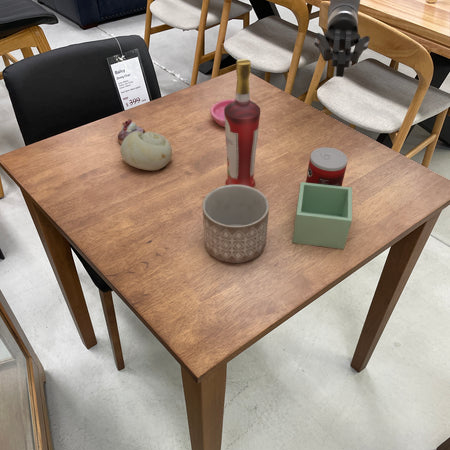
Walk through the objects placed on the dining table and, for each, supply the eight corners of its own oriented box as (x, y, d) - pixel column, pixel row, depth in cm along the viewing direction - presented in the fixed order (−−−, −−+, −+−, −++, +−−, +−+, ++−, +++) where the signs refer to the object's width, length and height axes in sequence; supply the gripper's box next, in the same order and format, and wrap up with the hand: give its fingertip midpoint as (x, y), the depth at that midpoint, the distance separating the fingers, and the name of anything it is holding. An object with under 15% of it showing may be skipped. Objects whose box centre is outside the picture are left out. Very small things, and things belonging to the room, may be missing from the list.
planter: (203, 225, 94) (201, 185, 86) (261, 222, 95) (264, 182, 87) (206, 268, 86) (203, 228, 78) (269, 264, 87) (273, 225, 79)
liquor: (221, 180, 104) (219, 56, 83) (250, 175, 106) (256, 52, 84) (229, 199, 100) (229, 73, 78) (259, 194, 101) (268, 68, 79)
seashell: (169, 123, 107) (165, 141, 100) (175, 154, 112) (172, 173, 105) (118, 129, 108) (111, 146, 100) (126, 159, 113) (120, 178, 106)
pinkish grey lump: (127, 129, 119) (124, 112, 115) (152, 135, 117) (149, 117, 114) (112, 144, 114) (108, 127, 111) (137, 150, 113) (134, 132, 109)
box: (343, 249, 90) (351, 220, 84) (292, 242, 91) (296, 214, 85) (344, 216, 96) (352, 187, 90) (296, 210, 97) (300, 181, 92)
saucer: (243, 105, 127) (243, 95, 125) (262, 126, 120) (263, 115, 117) (203, 114, 124) (203, 104, 122) (221, 136, 117) (221, 125, 114)
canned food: (316, 184, 103) (324, 142, 95) (344, 199, 100) (355, 157, 91) (296, 199, 100) (302, 157, 91) (324, 215, 96) (333, 172, 88)
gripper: (365, 47, 111) (367, 90, 97) (313, 43, 113) (307, 85, 98) (372, 13, 105) (375, 53, 91) (318, 10, 107) (312, 49, 92)
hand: (340, 70), depth 94 cm, fingers closed
